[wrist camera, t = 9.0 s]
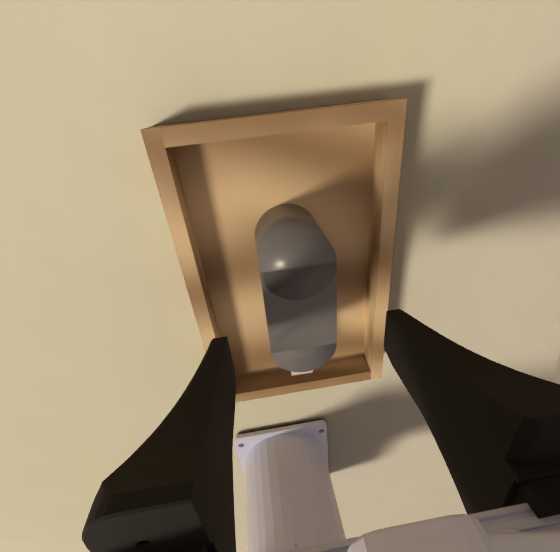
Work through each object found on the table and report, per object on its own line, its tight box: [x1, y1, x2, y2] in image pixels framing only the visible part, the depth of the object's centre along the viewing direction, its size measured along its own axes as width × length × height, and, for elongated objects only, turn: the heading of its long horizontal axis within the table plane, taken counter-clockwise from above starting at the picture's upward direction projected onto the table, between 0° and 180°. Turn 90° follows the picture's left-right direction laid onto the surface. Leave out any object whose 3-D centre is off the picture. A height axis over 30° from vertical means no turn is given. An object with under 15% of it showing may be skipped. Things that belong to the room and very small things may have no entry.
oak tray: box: [141, 99, 407, 402], centre depth 19 cm, size 18×12×2 cm, turn 6°
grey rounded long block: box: [255, 204, 337, 376], centre depth 18 cm, size 11×4×4 cm, turn 5°
